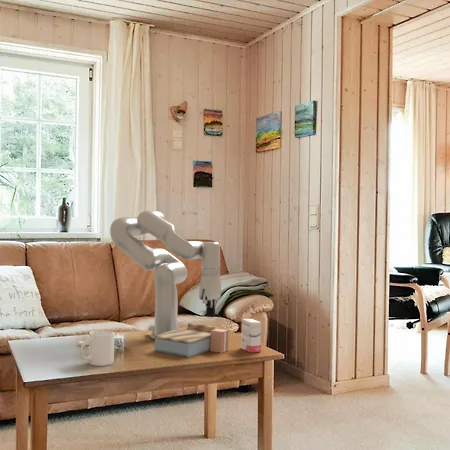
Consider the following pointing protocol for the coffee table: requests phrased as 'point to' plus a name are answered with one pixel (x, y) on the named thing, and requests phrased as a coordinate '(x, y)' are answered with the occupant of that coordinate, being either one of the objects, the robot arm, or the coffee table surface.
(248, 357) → the coffee table surface
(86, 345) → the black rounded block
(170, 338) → the lid
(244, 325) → the ink box
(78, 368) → the coffee table surface
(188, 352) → the blue open box
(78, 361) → the coffee table surface
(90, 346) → the mug
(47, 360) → the coffee table surface
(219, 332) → the parcel
